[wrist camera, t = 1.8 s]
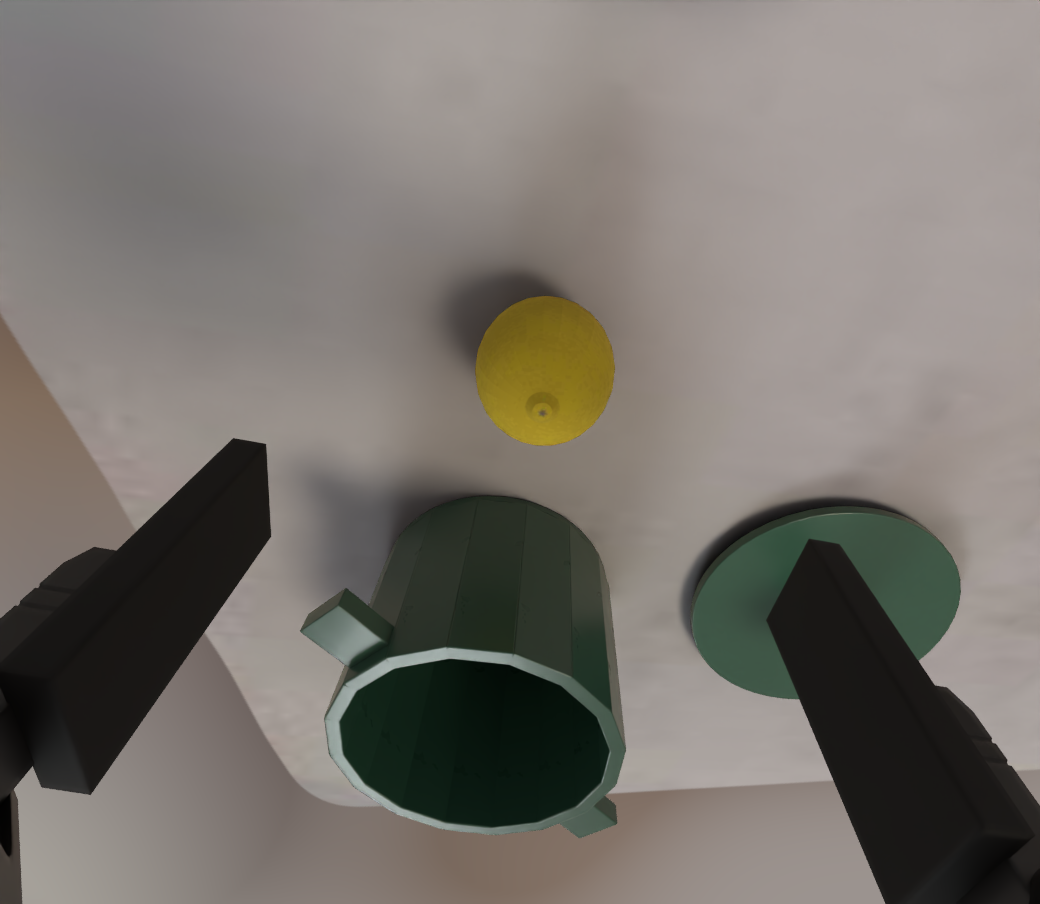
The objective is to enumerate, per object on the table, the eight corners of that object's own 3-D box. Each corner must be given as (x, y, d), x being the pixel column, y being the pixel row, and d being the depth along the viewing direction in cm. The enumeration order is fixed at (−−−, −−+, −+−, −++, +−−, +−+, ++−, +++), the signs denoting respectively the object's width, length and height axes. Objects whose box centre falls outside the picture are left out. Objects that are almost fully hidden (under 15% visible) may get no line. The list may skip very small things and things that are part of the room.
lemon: (480, 381, 28) (454, 467, 21) (496, 265, 25) (472, 320, 18) (592, 401, 28) (603, 492, 21) (620, 288, 26) (643, 350, 19)
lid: (881, 450, 29) (996, 568, 21) (987, 618, 34) (1112, 763, 26) (640, 583, 34) (663, 716, 26) (763, 712, 39) (812, 855, 31)
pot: (471, 416, 29) (431, 551, 20) (675, 628, 35) (715, 804, 26) (307, 542, 34) (214, 698, 25) (513, 710, 40) (500, 883, 31)
